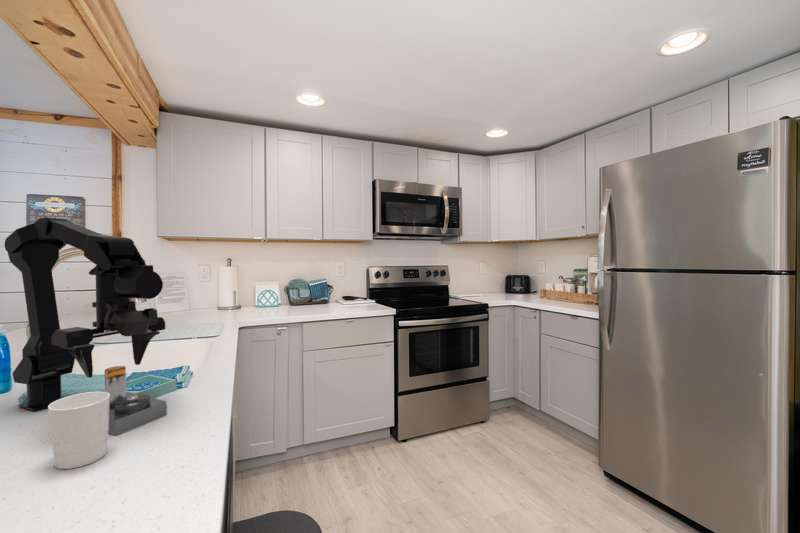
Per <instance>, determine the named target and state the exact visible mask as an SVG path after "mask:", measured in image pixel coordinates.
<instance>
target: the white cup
mask: <svg viewBox="0 0 800 533" xmlns="http://www.w3.org/2000/svg"><path fill="white" fill-rule="evenodd" d="M63 397H64V398H61V399H59V400H56V401H54V402H52V403H51V404H49V406H48V407H47V410H48V421H49V422H48V424H49V435H50V442H51V449H52V453H53V463H54V464H53V465H54V468H57V469H59V470H71V469H76V468H80V467H83V466H86V465H89V464H92V463H94V462H96V461H98V460H100V459H102V458H103V457H104V455H106V454H107V452H108V438H109V437H108V436H109V434H108V430H109V410H110V394H109V393H107V392H105V391H89V392H82V393H77V394H75V393H74V394H71V395H69V396H68V395H67V396H63Z"/></svg>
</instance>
